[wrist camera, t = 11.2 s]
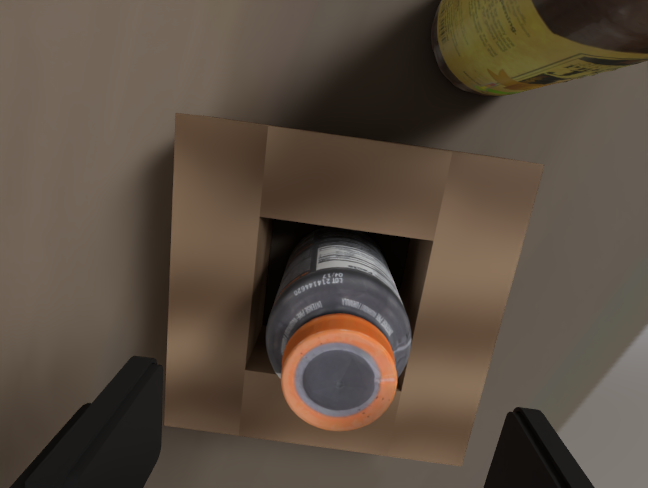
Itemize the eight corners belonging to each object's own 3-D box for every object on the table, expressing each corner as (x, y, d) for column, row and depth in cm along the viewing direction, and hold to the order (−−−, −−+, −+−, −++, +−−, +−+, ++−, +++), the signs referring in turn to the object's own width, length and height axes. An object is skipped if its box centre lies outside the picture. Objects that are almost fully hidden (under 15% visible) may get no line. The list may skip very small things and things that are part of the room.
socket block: (210, 116, 23) (175, 112, 18) (500, 157, 23) (544, 164, 18) (195, 372, 27) (164, 425, 22) (439, 406, 27) (461, 466, 22)
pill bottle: (319, 333, 26) (305, 483, 15) (268, 254, 25) (213, 355, 14) (404, 289, 25) (457, 415, 14) (357, 204, 24) (374, 271, 13)
